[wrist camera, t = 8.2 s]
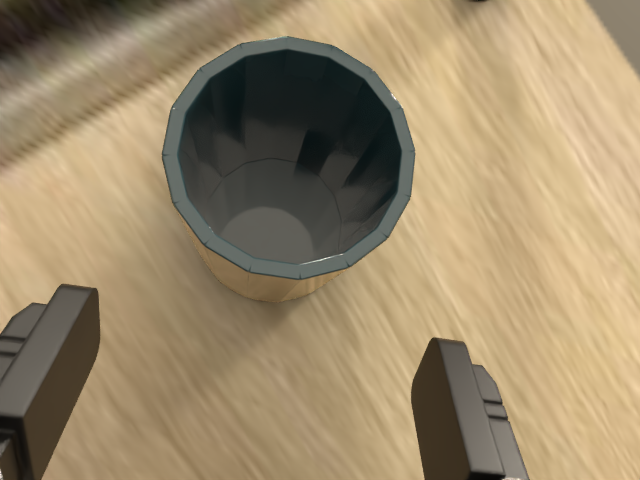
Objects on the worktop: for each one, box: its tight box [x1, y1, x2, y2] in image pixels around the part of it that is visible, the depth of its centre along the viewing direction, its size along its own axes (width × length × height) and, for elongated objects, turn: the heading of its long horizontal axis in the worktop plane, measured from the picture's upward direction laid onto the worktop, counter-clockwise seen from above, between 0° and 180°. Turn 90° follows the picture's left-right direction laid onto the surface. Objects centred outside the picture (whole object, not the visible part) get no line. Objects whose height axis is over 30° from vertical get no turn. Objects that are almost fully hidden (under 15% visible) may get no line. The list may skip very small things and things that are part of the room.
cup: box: [162, 36, 415, 302], centre depth 18 cm, size 6×6×10 cm
